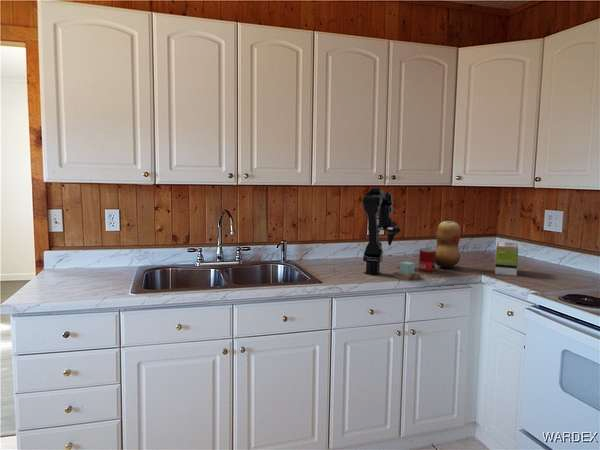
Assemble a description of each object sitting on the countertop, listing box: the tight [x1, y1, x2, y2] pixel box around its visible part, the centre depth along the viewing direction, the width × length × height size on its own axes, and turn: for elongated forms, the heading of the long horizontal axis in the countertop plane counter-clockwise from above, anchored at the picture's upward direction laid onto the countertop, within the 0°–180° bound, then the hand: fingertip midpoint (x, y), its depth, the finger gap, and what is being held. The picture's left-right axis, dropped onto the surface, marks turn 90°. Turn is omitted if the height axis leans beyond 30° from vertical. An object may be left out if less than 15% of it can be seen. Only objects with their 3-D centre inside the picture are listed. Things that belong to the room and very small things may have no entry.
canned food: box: [418, 247, 436, 273], centre depth 215 cm, size 8×8×11 cm
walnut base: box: [392, 271, 421, 281], centre depth 199 cm, size 9×9×2 cm
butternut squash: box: [434, 220, 461, 269], centre depth 221 cm, size 14×13×25 cm
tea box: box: [494, 241, 519, 277], centre depth 212 cm, size 15×10×15 cm, turn 154°
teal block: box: [398, 261, 416, 275], centre depth 199 cm, size 5×5×5 cm
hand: (383, 244), depth 224 cm, fingers open, 9 cm apart
